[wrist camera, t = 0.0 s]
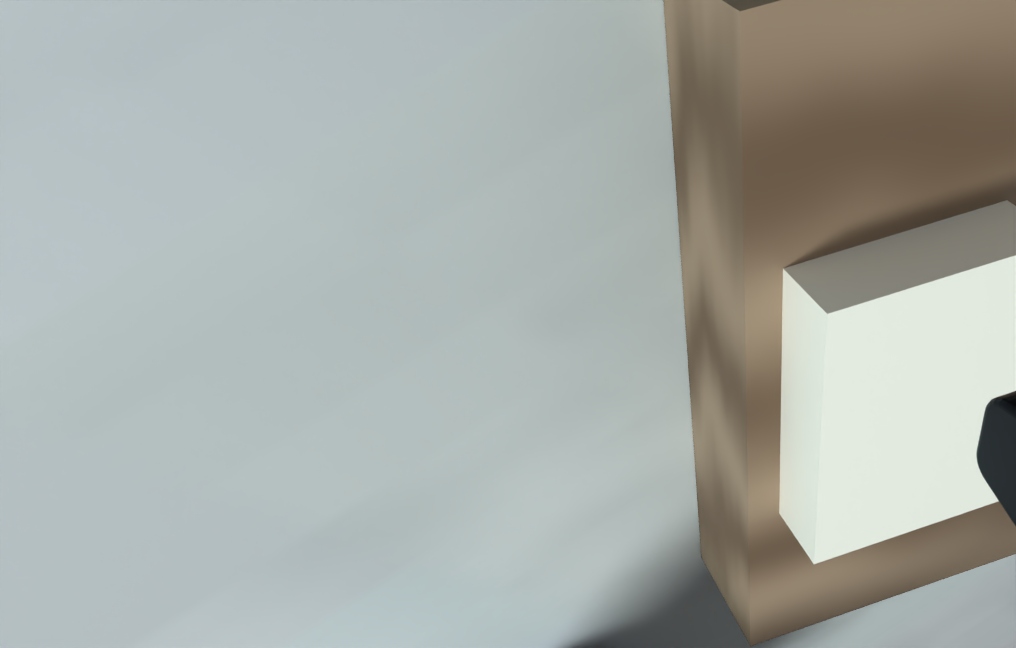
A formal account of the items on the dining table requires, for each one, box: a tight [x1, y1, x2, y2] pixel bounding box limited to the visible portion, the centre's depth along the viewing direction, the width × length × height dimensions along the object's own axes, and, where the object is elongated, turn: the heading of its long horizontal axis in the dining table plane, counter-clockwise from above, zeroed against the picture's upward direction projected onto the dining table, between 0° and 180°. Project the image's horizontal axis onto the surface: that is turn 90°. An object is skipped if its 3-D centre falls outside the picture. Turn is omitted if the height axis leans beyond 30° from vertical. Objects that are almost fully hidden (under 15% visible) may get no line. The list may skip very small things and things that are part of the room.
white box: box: [779, 200, 1016, 564], centre depth 24 cm, size 9×6×2 cm, turn 10°
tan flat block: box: [664, 0, 1016, 646], centre depth 27 cm, size 22×14×4 cm, turn 10°
